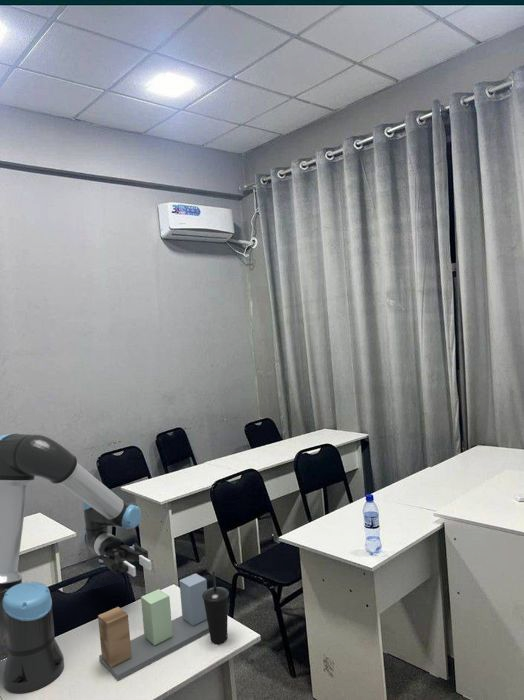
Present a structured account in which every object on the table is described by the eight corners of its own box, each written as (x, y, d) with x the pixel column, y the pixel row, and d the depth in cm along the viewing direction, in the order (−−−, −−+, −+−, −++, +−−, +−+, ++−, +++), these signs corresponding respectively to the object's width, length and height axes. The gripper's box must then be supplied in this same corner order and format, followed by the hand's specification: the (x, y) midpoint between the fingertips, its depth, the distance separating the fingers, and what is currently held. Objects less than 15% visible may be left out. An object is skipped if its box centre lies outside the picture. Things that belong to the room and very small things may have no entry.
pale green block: (144, 636, 151) (140, 596, 151) (162, 628, 155) (159, 589, 155) (154, 645, 147) (150, 604, 146) (172, 636, 151) (169, 595, 150)
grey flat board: (99, 660, 145) (99, 655, 145) (195, 613, 165) (195, 609, 165) (118, 680, 135) (117, 675, 135) (217, 628, 156) (217, 623, 156)
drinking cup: (220, 650, 145) (214, 580, 144) (200, 642, 150) (194, 574, 149) (237, 636, 151) (232, 569, 150) (218, 628, 156) (212, 563, 155)
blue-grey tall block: (182, 618, 160) (179, 580, 159) (198, 610, 164) (195, 573, 163) (193, 625, 155) (189, 586, 155) (209, 617, 159) (206, 579, 159)
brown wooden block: (101, 657, 143) (97, 615, 143) (122, 647, 147) (118, 606, 146) (111, 667, 138) (107, 623, 138) (131, 656, 142) (127, 614, 142)
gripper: (134, 549, 179) (169, 570, 161) (85, 568, 168) (116, 592, 150) (132, 528, 179) (167, 546, 161) (83, 545, 167) (113, 566, 150)
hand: (142, 568), depth 155 cm, fingers open, 4 cm apart
